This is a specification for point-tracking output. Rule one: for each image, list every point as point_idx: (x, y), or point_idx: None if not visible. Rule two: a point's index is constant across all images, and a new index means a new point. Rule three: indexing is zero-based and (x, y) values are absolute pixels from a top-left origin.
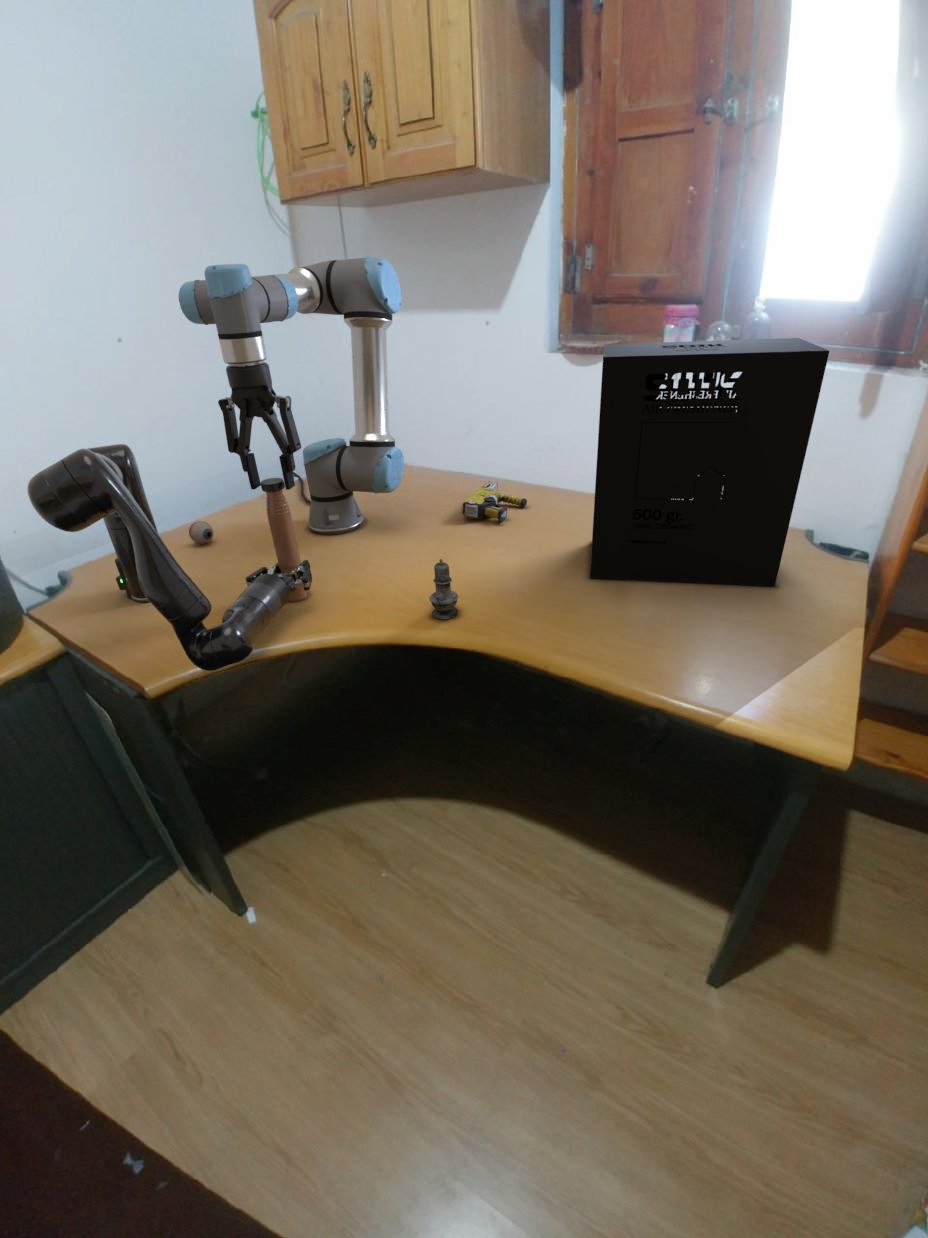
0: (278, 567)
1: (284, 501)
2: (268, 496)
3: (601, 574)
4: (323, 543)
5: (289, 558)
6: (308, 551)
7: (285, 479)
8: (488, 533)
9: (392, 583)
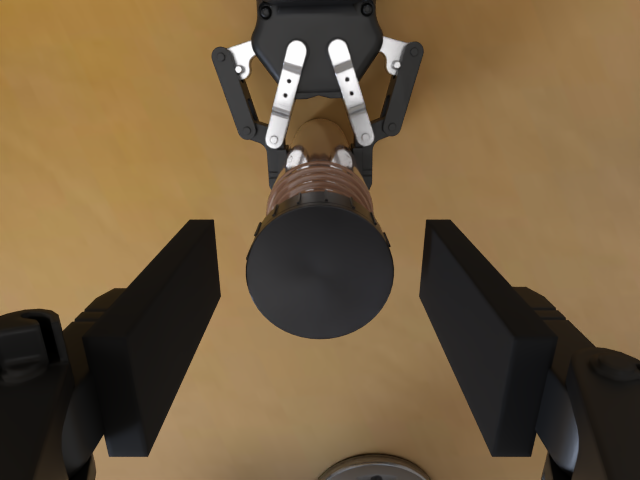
0: (352, 148)
1: None
2: None
3: None
4: (367, 415)
5: (300, 138)
6: (388, 375)
7: (182, 241)
8: None
9: (108, 231)
